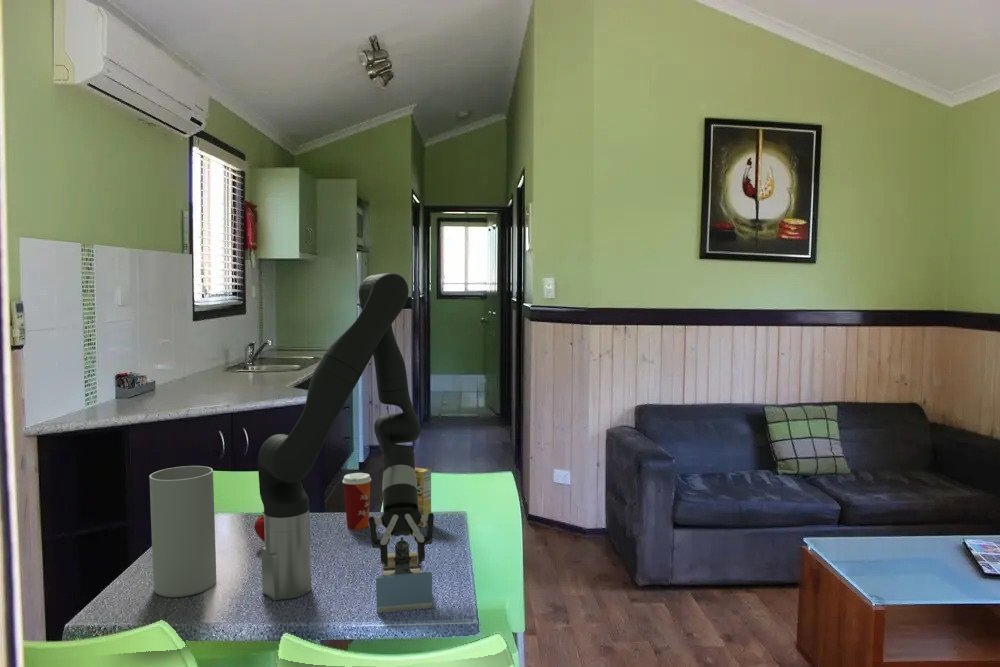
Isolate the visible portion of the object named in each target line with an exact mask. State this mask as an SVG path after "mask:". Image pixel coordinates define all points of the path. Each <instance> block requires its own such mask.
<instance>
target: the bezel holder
mask: <svg viewBox="0 0 1000 667" xmlns="http://www.w3.org/2000/svg"><path fill="white" fill-rule="evenodd" d="M375 587H376V590H375V591H376V593H375V594H376V614H381V613H382V612H384V613H394V612H395V611H396V612H405V610H408V611H415V609H419V610H426V609H427V610H429V609H428V608H431V609H433V573H432V571H423V572H421V573H411V574H398V575H383V574H382V575H375ZM382 614H383V613H382Z"/></svg>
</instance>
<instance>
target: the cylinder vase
mask: <svg viewBox="0 0 1000 667" xmlns="http://www.w3.org/2000/svg"><path fill="white" fill-rule="evenodd" d="M214 489H215V488H214V469H213V468H212V467H209V466H204V465H187V466H186V465H185V466H175V467H170V468H164V469H161V470H158V471H155V472H153V473H151V474H149V498H150V499H149V500H150V504H149V505H150V523H151V524H150V527H151V550H152V555H151V556H152V578H153V579H152V580H153V582H152V583H153V591H154V592H155V593H156V594H157V595H158V596H160V597H164V598H183V597H190V596H194V595H197V594H200V593H203V592H206V591H207V590H209V589H210V588H212V587H213V586H214V585H215V584H216V582H217V556H216V554H217V552H216V551H217V550H216V526H215V525H216V523H215V522H216V521H215V519H216V518H215V517H216V516H215V493H214V492H215V491H214Z"/></svg>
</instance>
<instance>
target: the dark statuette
mask: <svg viewBox="0 0 1000 667" xmlns="http://www.w3.org/2000/svg"><path fill="white" fill-rule="evenodd" d="M394 551H395V552H394V553H395V558H394V561H395V569H394V570H395V572H394V573H393V574H391V575H398V574H411V573H413V572H411V571H410V569H411V567H410V560H411V557H410V556H409V552H410V544H409V542H408V541H406V540H404V537H403V536H401V537H400V540H399V541H397V542H396V543H395V546H394Z"/></svg>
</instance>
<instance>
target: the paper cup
mask: <svg viewBox="0 0 1000 667" xmlns="http://www.w3.org/2000/svg"><path fill="white" fill-rule="evenodd" d="M341 481H342V484H343V493H344V504H345V513H346V515H345V516H346V526H347V529H348V530H350V531H361V530H365V529H367V528H369V517H370V498H371V497H370V495H371V493H370V492H371V481H372V478H371V475H370V474H369V473H364V472H352V473H347V474H345V475H344V476H343V479H342V480H341Z"/></svg>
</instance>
